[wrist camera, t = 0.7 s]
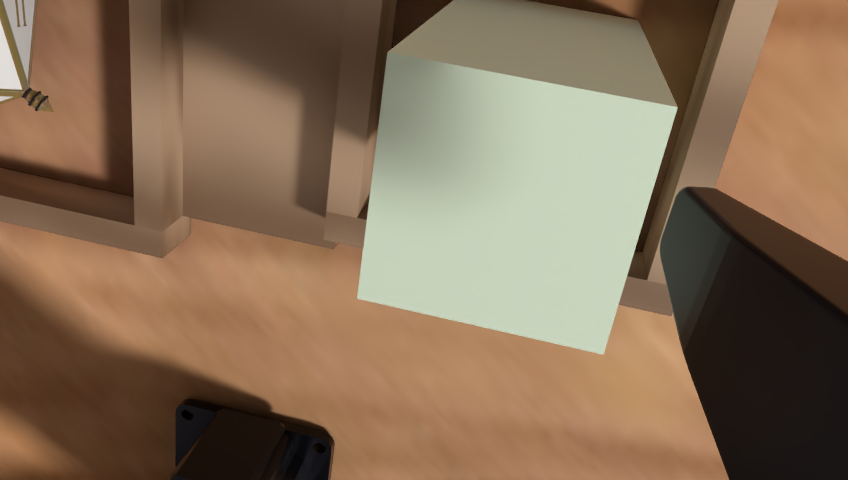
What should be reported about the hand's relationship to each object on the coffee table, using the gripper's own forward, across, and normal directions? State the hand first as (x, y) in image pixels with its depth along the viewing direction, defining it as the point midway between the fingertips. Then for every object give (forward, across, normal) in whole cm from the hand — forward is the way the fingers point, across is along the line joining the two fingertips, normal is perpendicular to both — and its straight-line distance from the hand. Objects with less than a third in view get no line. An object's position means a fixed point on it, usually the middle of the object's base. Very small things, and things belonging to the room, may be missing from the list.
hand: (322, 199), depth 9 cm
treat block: (+13, -6, +4) cm, 15 cm away
